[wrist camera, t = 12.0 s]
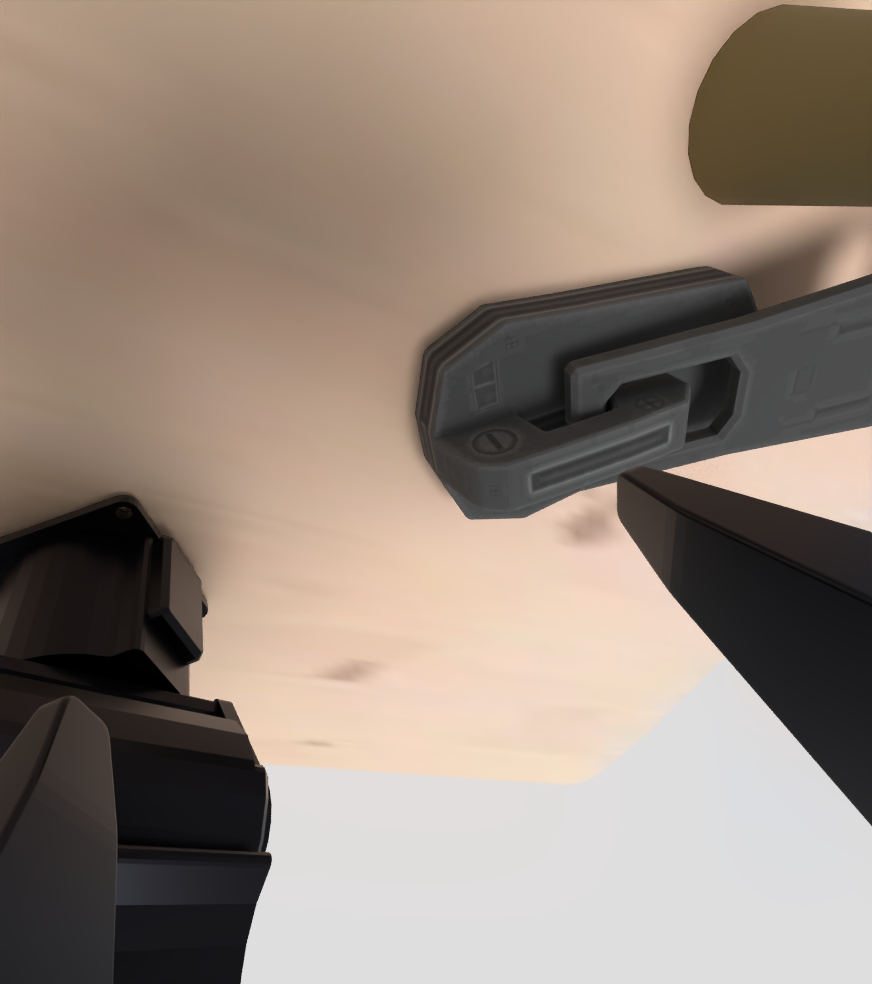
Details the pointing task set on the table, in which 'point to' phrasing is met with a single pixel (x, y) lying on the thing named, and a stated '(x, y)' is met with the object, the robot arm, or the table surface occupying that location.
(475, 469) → the zipper pull
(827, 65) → the cork
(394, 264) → the table surface
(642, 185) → the table surface
